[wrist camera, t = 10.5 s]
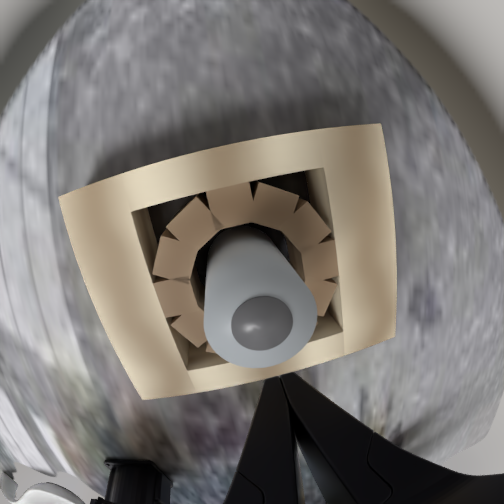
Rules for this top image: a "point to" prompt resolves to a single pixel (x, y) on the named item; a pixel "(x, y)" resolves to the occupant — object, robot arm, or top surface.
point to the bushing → (255, 301)
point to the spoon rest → (38, 493)
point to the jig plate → (228, 215)
